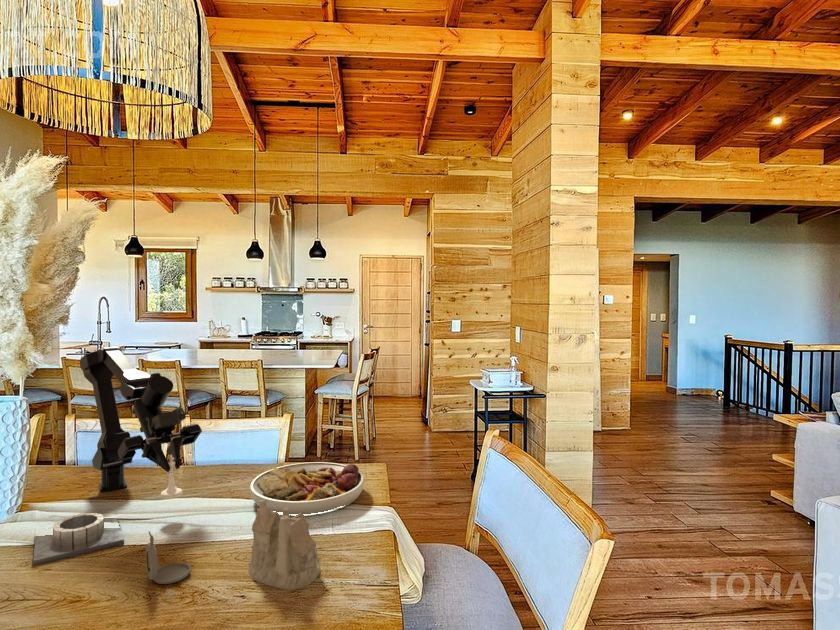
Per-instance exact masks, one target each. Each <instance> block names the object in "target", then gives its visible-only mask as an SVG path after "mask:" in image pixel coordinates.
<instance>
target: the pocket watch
mask: <svg viewBox="0 0 840 630" xmlns="http://www.w3.org/2000/svg"><path fill="white" fill-rule="evenodd" d="M148 535H149V541H150V542H148V543H147V544H146V545H145V546H146V547H145V565H146V566H145V567H146V573H147V575H148V576H147V577H148V579H149V580H152V581H153V582H155V583H157V584H159V585H160V584H161V585H168V584H169V585H170V584H173V583H176V582H180V581H182V580H184V579H185V578H187V577H188V576H189V574H190V573H191V566H190V565H189V564H187V563H186V562H175V563H169V564H166V565H163V566H161V567H159V559H158V553H157V548H156V545H155V543H154V541H155V537H154V535H152V534H151V531H150V530H149V531H148Z"/></svg>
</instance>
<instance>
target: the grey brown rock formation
mask: <svg viewBox="0 0 840 630" xmlns="http://www.w3.org/2000/svg"><path fill="white" fill-rule="evenodd" d="M305 517H306V516H304V515H303V514H301V513H299V514H298V515H296V516H294V517H293V516H289V509H288V508H284V509H283V515H279V514H278V513H277V512H273V511H271V510H270V508H269V505H266V500H265V499H262V500H261V501H260V507H259V508H256V515H255V517H254V518H255V519H254V521H253V523H252V526H251V531H252V532H253V534H252V535H253V543H252V545H251V546H250V547H251V552H250V553H251V560H250V562H249V565H248V574H249V576H250V578H251V579H252V580H254V581H255V582H259V583H261V584H264V585H267V586H270V587H272V588H273V587H274V588H277V589H279V590H283V591H284V590H285V591H294V590H298V589H299V590H301V589H302V588H306V587H307V586H309V585H310V584H312V583H313V582H314V581H315V580H316V579H318V576H319V575H320V573H321V568H320V563H319V558H318V553H317V543H316V541H315V540H314V539H313V537H312V536H311V535H310V531H309V529H310V528H311V525H310V523H309V521H308V520H307V519H306V518H305Z"/></svg>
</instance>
